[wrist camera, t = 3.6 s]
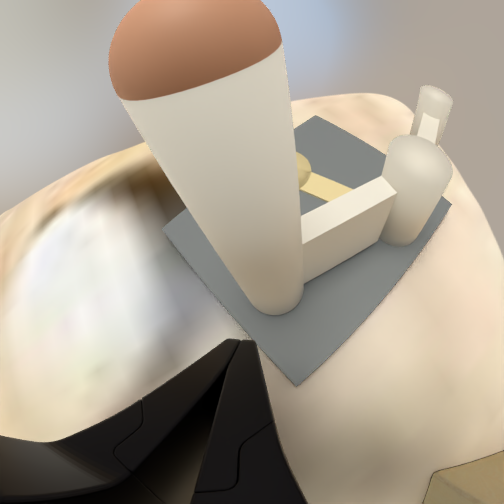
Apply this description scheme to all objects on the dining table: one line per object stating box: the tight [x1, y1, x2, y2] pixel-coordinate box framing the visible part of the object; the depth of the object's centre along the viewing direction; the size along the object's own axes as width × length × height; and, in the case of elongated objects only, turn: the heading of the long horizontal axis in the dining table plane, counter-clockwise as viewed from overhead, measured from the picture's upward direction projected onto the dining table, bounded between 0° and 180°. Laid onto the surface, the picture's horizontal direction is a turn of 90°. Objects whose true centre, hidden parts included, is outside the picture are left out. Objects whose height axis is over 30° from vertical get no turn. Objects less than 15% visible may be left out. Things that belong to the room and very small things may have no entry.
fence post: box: [109, 0, 397, 315], centre depth 9 cm, size 8×3×15 cm, turn 116°
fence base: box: [379, 85, 453, 247], centre depth 15 cm, size 10×4×8 cm, turn 146°
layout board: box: [162, 115, 452, 387], centre depth 18 cm, size 16×14×1 cm
